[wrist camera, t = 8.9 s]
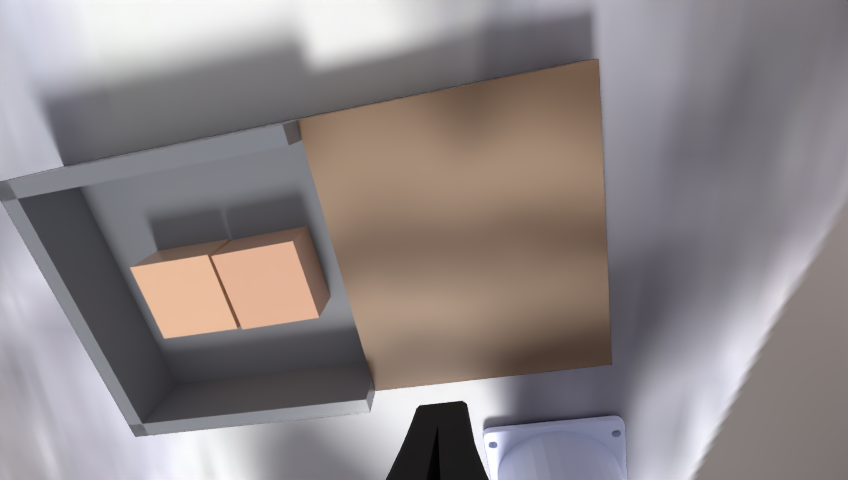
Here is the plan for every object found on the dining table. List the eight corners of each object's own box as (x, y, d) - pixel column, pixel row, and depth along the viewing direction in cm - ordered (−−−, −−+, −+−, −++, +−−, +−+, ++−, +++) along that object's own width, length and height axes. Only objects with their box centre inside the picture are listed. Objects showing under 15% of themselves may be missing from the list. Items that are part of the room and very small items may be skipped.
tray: (381, 366, 24) (369, 412, 21) (175, 390, 26) (135, 436, 23) (311, 115, 19) (282, 124, 16) (62, 166, 21) (-10, 183, 18)
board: (598, 340, 22) (612, 364, 21) (381, 366, 24) (375, 391, 22) (583, 60, 18) (598, 58, 16) (311, 115, 19) (296, 120, 17)
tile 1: (330, 296, 22) (319, 317, 20) (259, 308, 23) (242, 329, 21) (307, 225, 21) (292, 241, 19) (232, 240, 21) (211, 256, 19)
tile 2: (255, 307, 23) (237, 328, 21) (187, 317, 23) (164, 338, 21) (229, 238, 21) (207, 255, 19) (157, 250, 22) (129, 267, 20)
